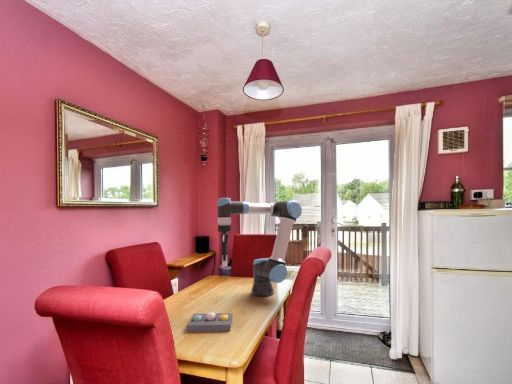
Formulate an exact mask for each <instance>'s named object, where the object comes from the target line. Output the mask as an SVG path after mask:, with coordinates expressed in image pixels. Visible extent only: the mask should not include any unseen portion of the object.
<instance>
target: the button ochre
mask: <svg viewBox="0 0 512 384" xmlns="http://www.w3.org/2000/svg"><path fill="white" fill-rule="evenodd" d="M220 321H229V315H227V314H223V315H220Z"/></svg>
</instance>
